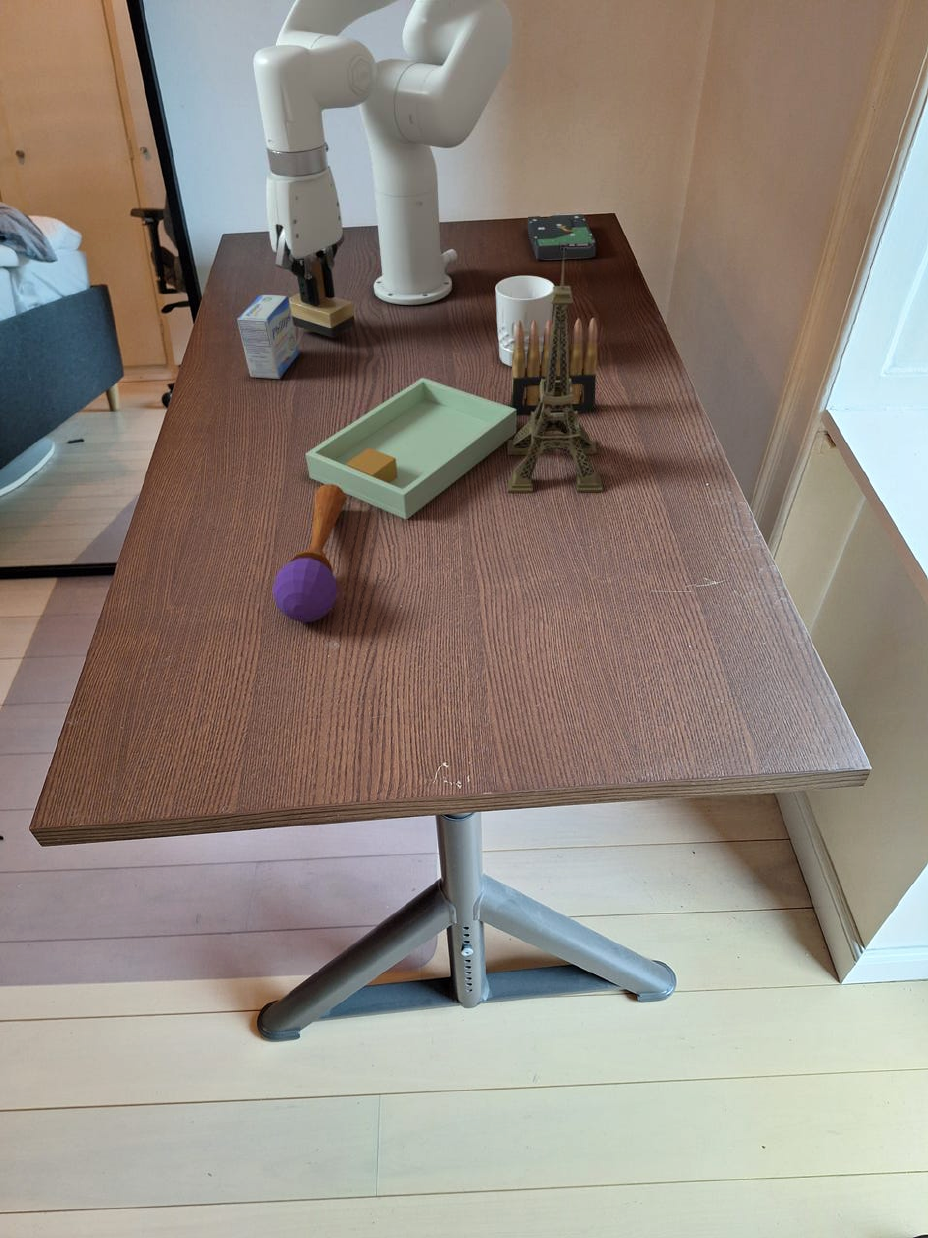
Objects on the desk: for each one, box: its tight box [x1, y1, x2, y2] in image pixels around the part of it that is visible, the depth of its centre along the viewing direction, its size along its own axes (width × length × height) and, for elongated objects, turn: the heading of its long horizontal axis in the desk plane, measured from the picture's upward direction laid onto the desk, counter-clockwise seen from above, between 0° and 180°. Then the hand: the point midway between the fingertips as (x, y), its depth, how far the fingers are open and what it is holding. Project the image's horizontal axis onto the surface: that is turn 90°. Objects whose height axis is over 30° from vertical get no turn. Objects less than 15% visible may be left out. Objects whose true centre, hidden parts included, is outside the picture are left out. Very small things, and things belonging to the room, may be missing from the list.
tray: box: [305, 377, 517, 520], centre depth 101 cm, size 22×15×3 cm
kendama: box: [272, 484, 347, 623], centre depth 86 cm, size 6×6×20 cm
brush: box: [289, 255, 356, 339], centre depth 122 cm, size 5×9×10 cm, turn 54°
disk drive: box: [526, 213, 597, 261], centre depth 150 cm, size 10×3×15 cm
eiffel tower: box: [507, 247, 603, 494], centre depth 91 cm, size 11×11×25 cm
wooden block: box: [346, 448, 397, 483], centre depth 96 cm, size 4×4×2 cm
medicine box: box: [237, 294, 299, 380], centre depth 117 cm, size 8×4×9 cm, turn 168°
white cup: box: [494, 275, 555, 369], centre depth 116 cm, size 8×8×10 cm
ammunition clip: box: [509, 317, 598, 416], centre depth 105 cm, size 11×2×12 cm, turn 92°
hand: (318, 298), depth 123 cm, fingers closed on brush, 2 cm apart
